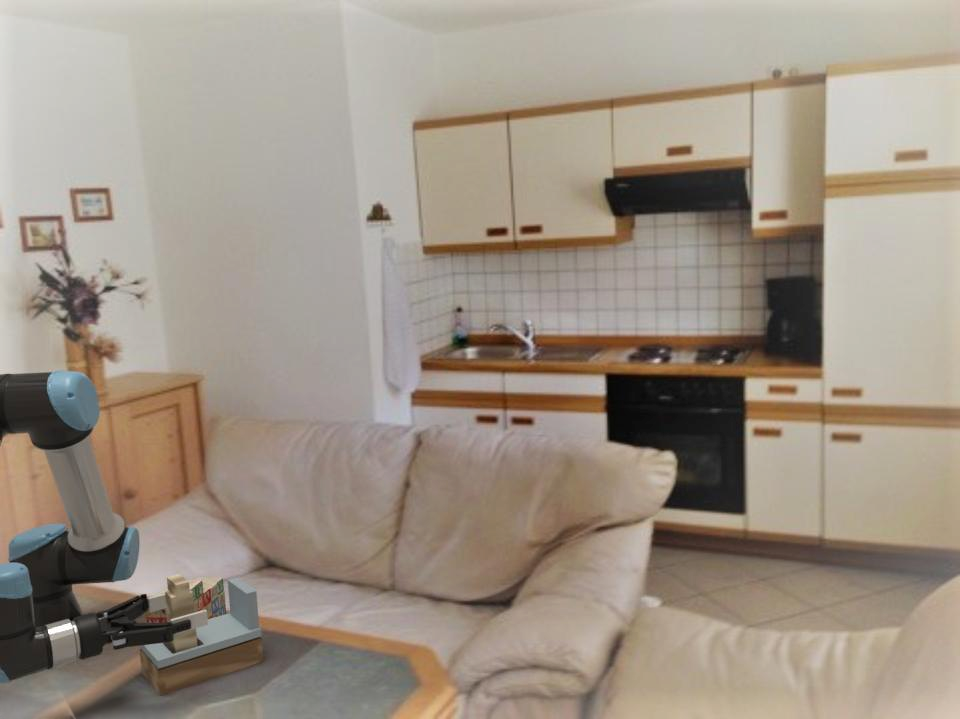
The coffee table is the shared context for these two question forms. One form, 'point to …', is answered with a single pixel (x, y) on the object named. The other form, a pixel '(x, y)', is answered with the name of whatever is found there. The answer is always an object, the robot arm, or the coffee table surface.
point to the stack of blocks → (198, 599)
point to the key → (180, 611)
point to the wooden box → (202, 666)
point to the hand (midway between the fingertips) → (194, 606)
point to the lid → (217, 628)
